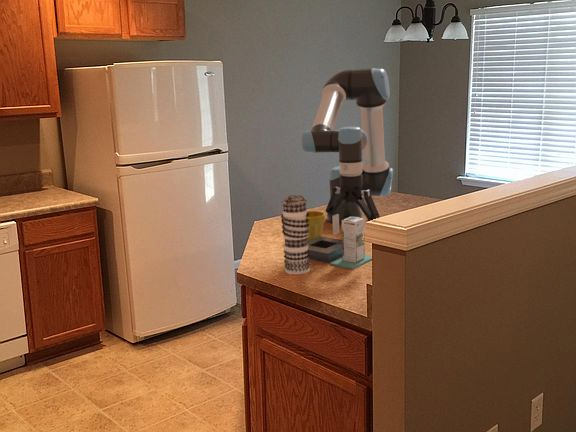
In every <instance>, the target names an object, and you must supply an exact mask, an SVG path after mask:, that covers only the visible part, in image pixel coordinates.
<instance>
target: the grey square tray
mask: <svg viewBox="0 0 576 432" xmlns="http://www.w3.org/2000/svg"><path fill="white" fill-rule="evenodd" d="M307 243H308V249H309V250H310V251H309V255H310V256H309V257H308V258H309V259H310V261H315V262H319V263H320V262H321V263H324V264H325V263H326V264H330V263H332V262H334V261H336V260H338V259H341V258H342V239H340V238H339V239H338V238H333V237H328V236H322V235H321V236H318V237H315V238H313V239H310V240H307Z"/></svg>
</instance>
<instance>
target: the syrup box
mask: <svg viewBox="0 0 576 432" xmlns="http://www.w3.org/2000/svg"><path fill="white" fill-rule="evenodd" d="M363 233H364V234H365V218H363V217H362V218H359V217H349V218H346V219H344V220H342V223H341V240H342V260H343V261H348V262H354V263H357V262H359V261H361V260H362V259H364V258H365V255H366V254H365V251H366V250H365V241H364V242H363V240H362V237H363Z"/></svg>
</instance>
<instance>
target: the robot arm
mask: <svg viewBox="0 0 576 432" xmlns="http://www.w3.org/2000/svg"><path fill="white" fill-rule="evenodd" d="M323 85H324V86H323V88H322V91H321V93H320V95H321V101H320V104H319V107H318V109H317V112H316V116H315V118H314V122H313V123H312V124H313V125H312V128H311V130H309V129H308V130H305V131H303V132H302V134H301V147H302V150H303V152H305V153H314V154H315V153H317V154H318V153H338V157H339V160H338V161H339V165H338V166H334V167H333V168H331V169H330V171H329V179H328V180H329V198H330V199H329V200H328V203H327V206H326V208H325V214H326V220H327V221H328V222H329V223H331V225H332V234H333V235H337V234H340V224H342V220H344V219H346V218H349V217H359V218H363V215H364V216H365V217H366V219H367V220H366V219H365V223H366V222H368V221H370V220H373V219H375V220H377V219H380V214H379V213H380V212H379V211H378V209H377V206H376V204H375V201H374V199H373V198H372V197H386V196H389V195H390V193H391V191H392V184H393V177H394V169H393V168H392V167H390V163H389V162H388V161H386V152H385V132H384V130H385V129H384V113H383V110H384V109H383V107H384V106H385V105H386V104H387V100H389V99H390V96H391V93H390V92H391V91H390V81H389V75H388V74H387V71H386V70H385V69H383V68H374V67H373V68H361V69H360V68H359V69H357V68H356V69H345V70H341V71H339V72H337V73H335V74H334V75H332V76H331V77H330V78H329V79H328V80H327V81H326V82H325V84H323ZM346 101H355V103H356V104H355V105H356V106H357V107H358V108H359V109H360V117H361V127H360V126H344V127H341V128H339V130H337V129H335V127H336V123H337V119H338V116H339V113H340V110H341V107H342V105H343V104H344V103H345V102H346ZM334 129H335V130H334ZM362 153H363V155H362ZM362 156H363V157H362ZM376 218H377V219H376Z"/></svg>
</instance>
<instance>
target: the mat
mask: <svg viewBox="0 0 576 432" xmlns="http://www.w3.org/2000/svg"><path fill="white" fill-rule="evenodd" d="M371 256H372V255H368V254H365V258H364V259H362V260H361V261H359V262H357V263H354V262H348V261H343V260H342V258H339V259H337V260H335V261H333V262H330V263H329V264H330V266H334V267H338V268H339V267H340V268H344V269H349V270H354V269H356V268H358V267H360V266H362V265H364V264H366V263H368V262H371V261H372V260H371Z"/></svg>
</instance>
